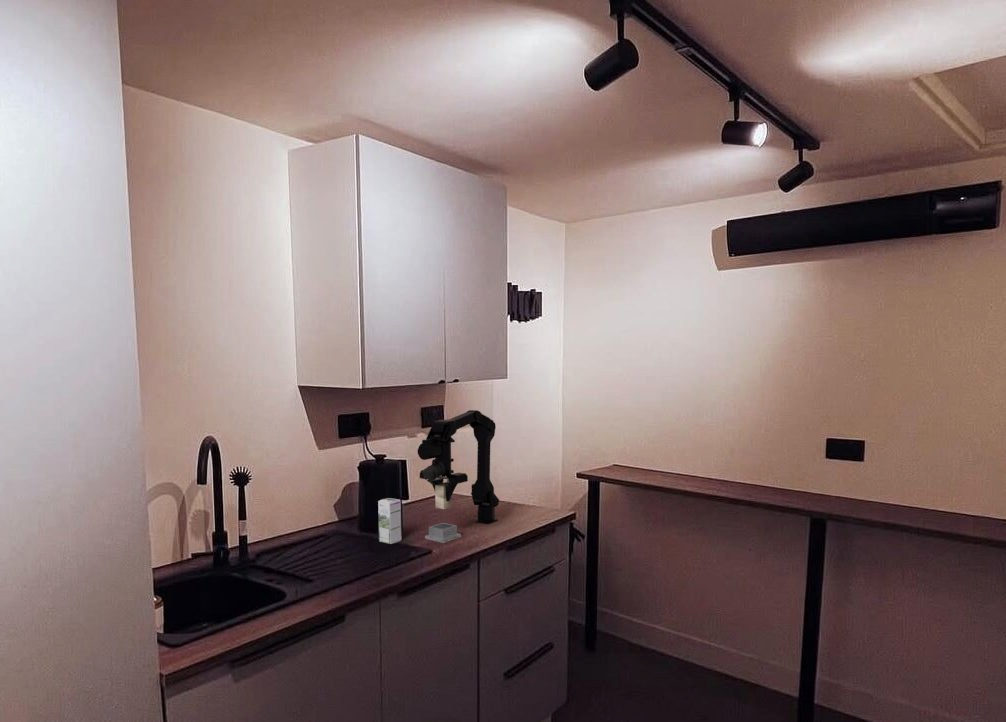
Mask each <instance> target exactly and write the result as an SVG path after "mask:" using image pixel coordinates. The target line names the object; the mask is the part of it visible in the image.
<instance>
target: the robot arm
mask: <svg viewBox="0 0 1006 722" xmlns="http://www.w3.org/2000/svg"><path fill="white" fill-rule="evenodd" d="M468 425H469V426H470V427H471V428H472V429H473V430H472V431H473V435H474V436H473V437H474V439H475V440H476V442H477V458H476V460H477V462H476V463H477V464H476V480H475V482H474V483H472V484H471V493H470V495H471V498H472V501H473V505H474V506H477V519H475V520H474V521H475V522H477V523H482V524H487V525H488V524H491V523H493V522H497V521H499V519H498V518H495V517H496V514H495V510H496V509H495V508H497V507H498V506H499V503H500V499H499V498H498V496H497V495H496V494H495V488H494V485H493V483H492V481H491V442H492V440H493V439H494V437H495V435H496V434H495V433H496V427H497V425H496V423H495V422H494V420H493V419H491V418H490V417H488V416H487V415H485V414H483V413H482V412H481V411H480V410H477V409H476V410H474V409H470V410H467V411H466V412H464V413H461V414H459V415H455V416H454V417H451V418H449V419H440V420H439V419H438V420H434V421H433V423H432V425H431V427H430V430H429V431H428V434H427V436H426V437H425V438H426V439H422V441H421V444H420V445H418V448H417V455H418V457H419V458H420V460H422V461H426V460H431V459H432V461H431V465H428V466H426V467H425V468H424V469H422V470H420V472H419V479H422V480H425V481H426V482H428V483H430V484H431V485H432V488H433V489H434V491H435V485H438V484H444V485H445V487H446V501H449V500H450V498H451V499H452V497H453V496H452V495H453V494H454V491H455V489H456V487H457V486H458V484H462V483H467V482H468V480H469V479H468V474H467V473H466V472H465V473H464V472H455V470H454V469H452V462H453V463H454V460H455V459H454V458H452V443H455V441H456V440H455V439H454V438H453V436H454V435H455V434H457V430H459V429H462V428H463V427H465V426H468ZM444 480H446V482H444Z"/></svg>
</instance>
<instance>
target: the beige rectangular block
mask: <svg viewBox="0 0 1006 722" xmlns="http://www.w3.org/2000/svg"><path fill="white" fill-rule="evenodd" d="M434 493H435V495H434V496H435V509H441V510H446V509H451V508H452V507H453V506H452V500H453V499H452V497H451V498H450V500H449V501H446V487H445V485H444V484H438V485H435V490H434Z"/></svg>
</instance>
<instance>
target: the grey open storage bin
mask: <svg viewBox="0 0 1006 722" xmlns="http://www.w3.org/2000/svg"><path fill="white" fill-rule="evenodd" d="M424 538H425V540H430V541H432V542H433V541H434V542H437V543H442V544H444V543H447V542H450V541H453V540H456V539H459V538H462V534H461V533H460V532H459V533H458V525H455V524H450V523H446V522H440V523H437V524H434V525H432V526H431V525H430V526H428V534H427V535H424Z"/></svg>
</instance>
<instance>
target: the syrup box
mask: <svg viewBox="0 0 1006 722" xmlns="http://www.w3.org/2000/svg"><path fill="white" fill-rule="evenodd" d="M377 503H378V504H377V506H378V511H377V512H378V541H379V543H384V544H387V545H392V544H396V543H399V542H401V541H402V514H401V513H402V509H401V503H402V502H401V499H399V498H398V499H397V498H392V497H391V498H390V497H386V498H381V499H380V500H378V501H377Z"/></svg>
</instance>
